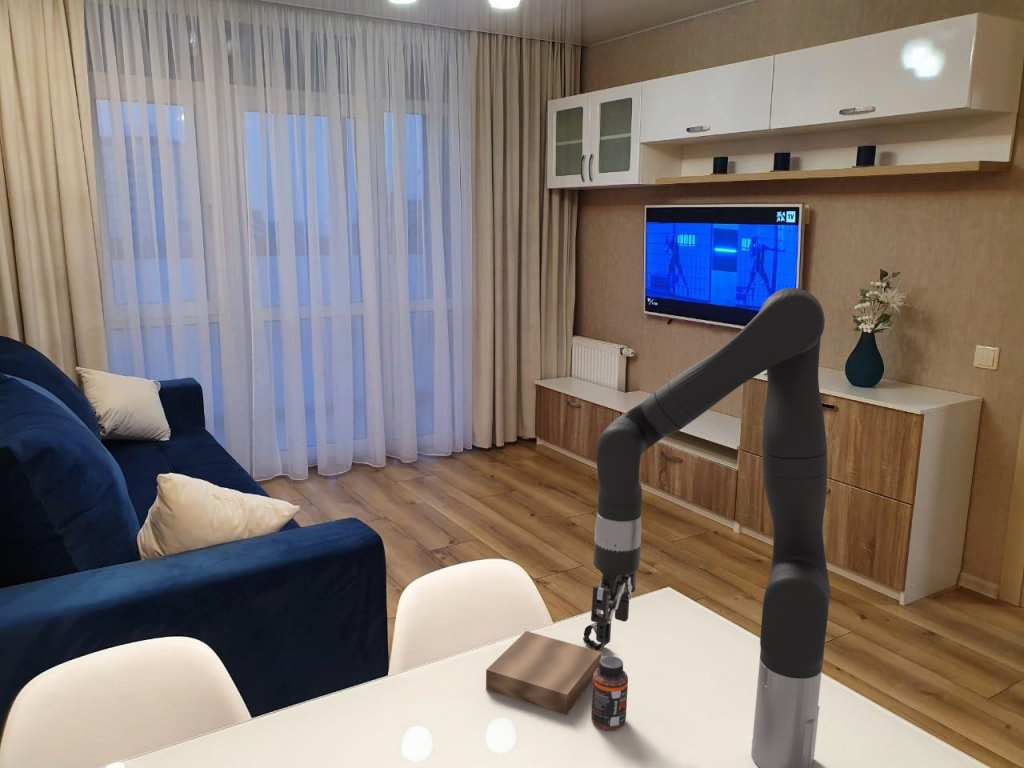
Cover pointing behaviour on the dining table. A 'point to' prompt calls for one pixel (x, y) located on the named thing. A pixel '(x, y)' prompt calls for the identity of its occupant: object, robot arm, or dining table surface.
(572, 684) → the walnut block
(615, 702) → the supplement bottle
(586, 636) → the wristwatch
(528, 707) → the dining table surface
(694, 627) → the dining table surface
